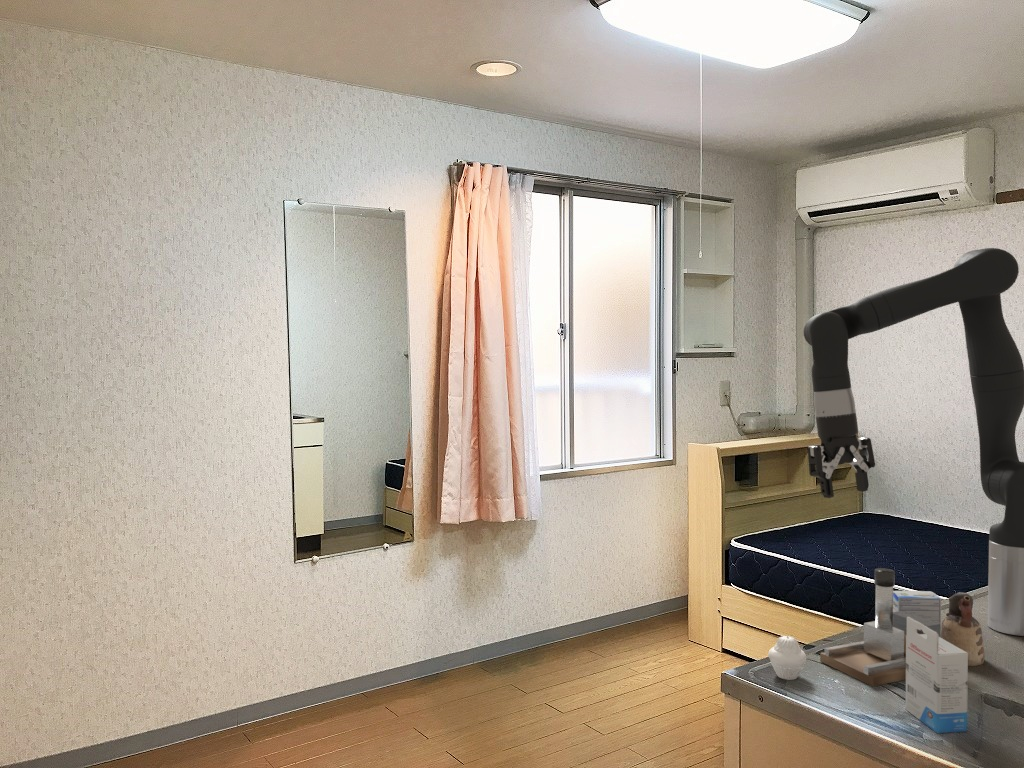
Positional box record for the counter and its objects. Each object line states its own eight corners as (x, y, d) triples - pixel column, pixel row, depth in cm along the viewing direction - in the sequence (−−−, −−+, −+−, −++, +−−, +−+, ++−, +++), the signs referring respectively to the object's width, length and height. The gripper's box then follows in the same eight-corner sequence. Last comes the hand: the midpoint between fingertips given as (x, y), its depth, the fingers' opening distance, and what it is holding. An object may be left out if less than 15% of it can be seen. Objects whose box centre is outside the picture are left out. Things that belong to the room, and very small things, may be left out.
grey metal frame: (898, 640, 154) (898, 608, 153) (944, 659, 144) (945, 625, 144) (824, 654, 147) (824, 621, 147) (868, 675, 138) (868, 639, 138)
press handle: (876, 648, 149) (878, 565, 148) (904, 659, 144) (905, 573, 143) (863, 650, 148) (864, 567, 147) (890, 662, 142) (891, 575, 142)
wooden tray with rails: (896, 646, 155) (896, 619, 155) (951, 669, 144) (952, 640, 144) (820, 661, 148) (820, 633, 148) (872, 686, 137) (873, 656, 137)
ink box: (968, 732, 121) (970, 632, 120) (936, 734, 120) (938, 633, 119) (934, 707, 129) (935, 613, 128) (903, 708, 129) (905, 614, 128)
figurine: (980, 654, 151) (981, 588, 150) (988, 668, 144) (989, 600, 144) (936, 649, 153) (937, 585, 153) (942, 663, 147) (943, 596, 146)
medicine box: (931, 634, 161) (932, 590, 161) (941, 643, 157) (942, 597, 156) (889, 633, 162) (890, 589, 162) (897, 641, 158) (898, 596, 157)
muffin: (808, 672, 143) (808, 632, 143) (804, 685, 137) (804, 644, 137) (770, 667, 146) (771, 627, 145) (765, 679, 140) (765, 639, 140)
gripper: (819, 416, 158) (830, 501, 158) (877, 407, 163) (888, 489, 163) (793, 417, 165) (804, 498, 165) (849, 409, 170) (860, 487, 170)
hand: (845, 494), depth 164 cm, fingers open, 8 cm apart
